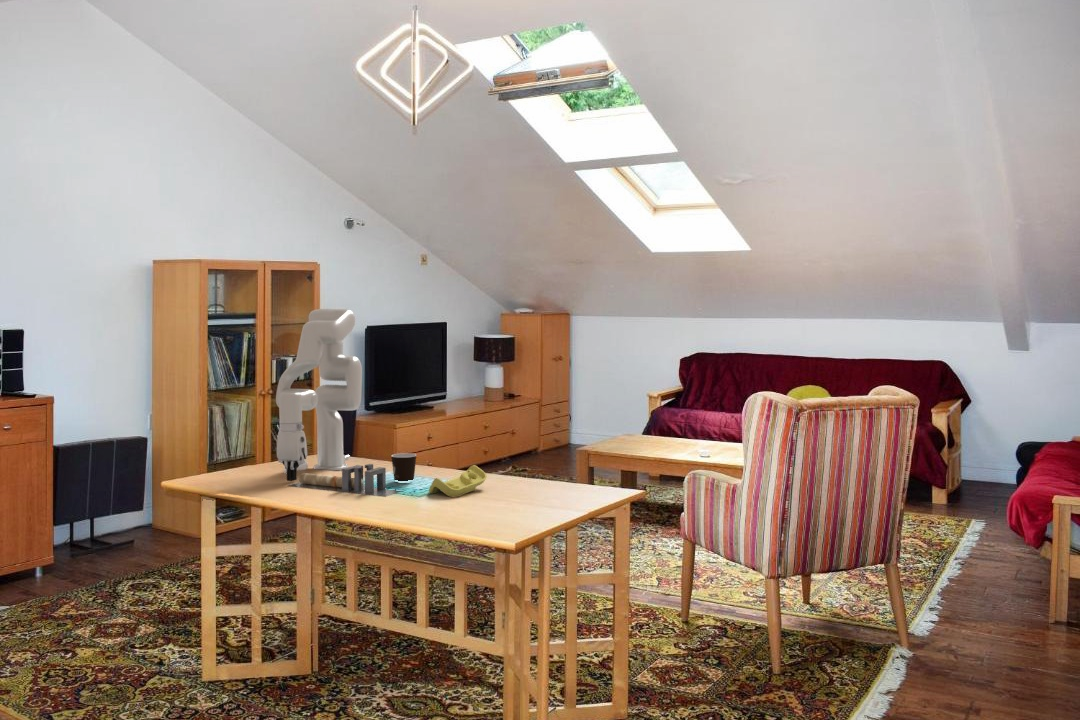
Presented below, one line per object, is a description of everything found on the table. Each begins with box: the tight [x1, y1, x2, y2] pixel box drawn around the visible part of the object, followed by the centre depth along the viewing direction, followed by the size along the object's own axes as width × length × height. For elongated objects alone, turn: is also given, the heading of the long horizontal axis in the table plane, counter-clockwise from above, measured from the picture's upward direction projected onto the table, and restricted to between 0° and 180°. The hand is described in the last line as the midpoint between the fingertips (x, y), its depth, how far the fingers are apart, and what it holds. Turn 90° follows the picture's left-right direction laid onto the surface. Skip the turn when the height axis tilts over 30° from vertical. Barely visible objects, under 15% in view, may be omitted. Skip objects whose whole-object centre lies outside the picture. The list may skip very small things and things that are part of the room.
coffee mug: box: [390, 452, 417, 481], centre depth 334 cm, size 12×9×10 cm
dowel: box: [298, 472, 365, 489], centre depth 324 cm, size 24×4×4 cm, turn 65°
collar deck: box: [287, 463, 403, 498], centre depth 321 cm, size 12×40×9 cm, turn 65°
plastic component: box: [428, 464, 488, 498], centre depth 321 cm, size 20×7×10 cm
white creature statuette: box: [283, 459, 309, 474], centre depth 356 cm, size 10×9×12 cm
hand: (291, 480), depth 331 cm, fingers closed
